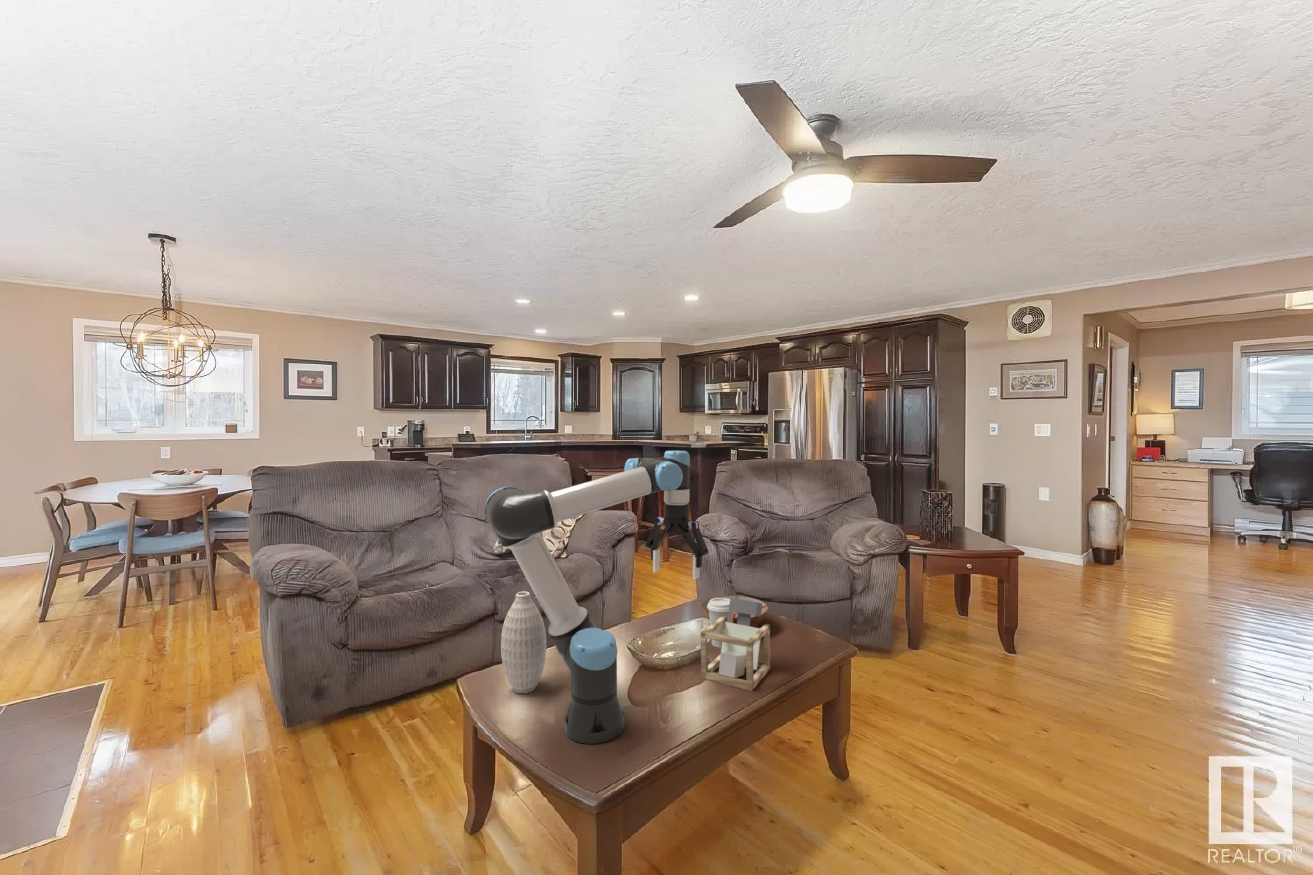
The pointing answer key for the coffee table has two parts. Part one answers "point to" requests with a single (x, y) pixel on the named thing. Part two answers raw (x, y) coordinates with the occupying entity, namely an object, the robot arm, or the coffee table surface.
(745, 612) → the trapdoor
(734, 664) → the light gray block
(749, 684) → the maple stand
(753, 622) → the bowl
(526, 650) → the vase
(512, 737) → the coffee table surface
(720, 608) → the coffee cup
